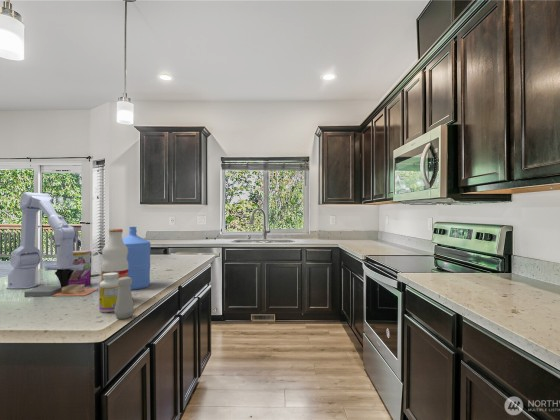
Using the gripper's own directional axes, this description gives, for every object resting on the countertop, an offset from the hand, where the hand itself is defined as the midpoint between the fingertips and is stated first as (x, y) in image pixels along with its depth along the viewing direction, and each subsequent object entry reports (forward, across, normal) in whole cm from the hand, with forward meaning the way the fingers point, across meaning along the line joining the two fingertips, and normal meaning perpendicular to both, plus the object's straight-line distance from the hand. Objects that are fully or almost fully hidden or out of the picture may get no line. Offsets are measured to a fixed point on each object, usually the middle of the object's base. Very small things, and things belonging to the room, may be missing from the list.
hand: (64, 287), depth 132 cm
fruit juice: (+3, +26, -12) cm, 29 cm away
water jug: (+3, +24, +10) cm, 26 cm away
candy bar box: (+3, -2, +12) cm, 13 cm away
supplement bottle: (+3, +30, -26) cm, 39 cm away
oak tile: (+2, +4, 0) cm, 4 cm away
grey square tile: (+2, -7, 0) cm, 7 cm away
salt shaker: (+3, +38, -34) cm, 51 cm away
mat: (+2, +5, 0) cm, 5 cm away
